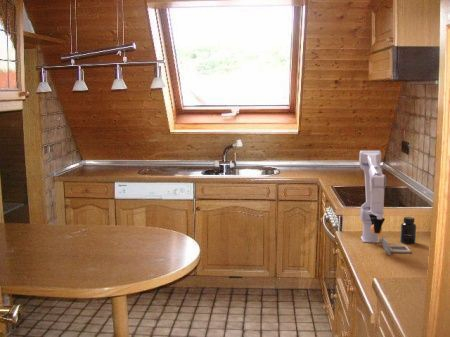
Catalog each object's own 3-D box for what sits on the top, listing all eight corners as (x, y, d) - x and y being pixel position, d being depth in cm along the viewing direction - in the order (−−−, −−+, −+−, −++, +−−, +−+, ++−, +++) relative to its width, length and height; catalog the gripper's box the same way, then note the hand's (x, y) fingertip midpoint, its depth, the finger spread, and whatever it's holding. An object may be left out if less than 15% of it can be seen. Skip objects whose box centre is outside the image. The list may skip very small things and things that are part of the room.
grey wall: (381, 244, 244) (381, 236, 243) (383, 244, 244) (384, 236, 243) (388, 254, 228) (388, 245, 227) (390, 254, 228) (390, 245, 227)
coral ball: (369, 233, 238) (369, 222, 237) (380, 233, 238) (381, 222, 237) (371, 235, 233) (371, 224, 233) (382, 236, 233) (383, 225, 232)
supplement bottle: (405, 245, 243) (406, 219, 241) (397, 241, 249) (398, 216, 248) (418, 243, 245) (419, 218, 243) (409, 240, 251) (410, 215, 250)
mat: (385, 246, 241) (385, 244, 241) (405, 246, 240) (406, 244, 240) (390, 253, 230) (390, 250, 230) (411, 253, 229) (411, 251, 229)
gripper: (365, 198, 241) (364, 227, 243) (370, 205, 227) (369, 235, 228) (381, 198, 240) (380, 227, 242) (387, 205, 226) (386, 235, 228)
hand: (376, 231), depth 235 cm, fingers closed on coral ball, 5 cm apart
